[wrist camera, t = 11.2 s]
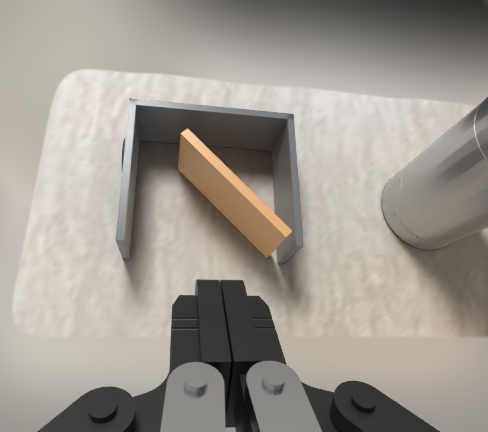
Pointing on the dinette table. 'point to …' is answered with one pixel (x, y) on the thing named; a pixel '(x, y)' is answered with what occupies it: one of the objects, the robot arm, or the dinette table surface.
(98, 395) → the robot arm
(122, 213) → the open u-shaped enclosure
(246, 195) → the side door
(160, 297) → the dinette table surface
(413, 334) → the dinette table surface
